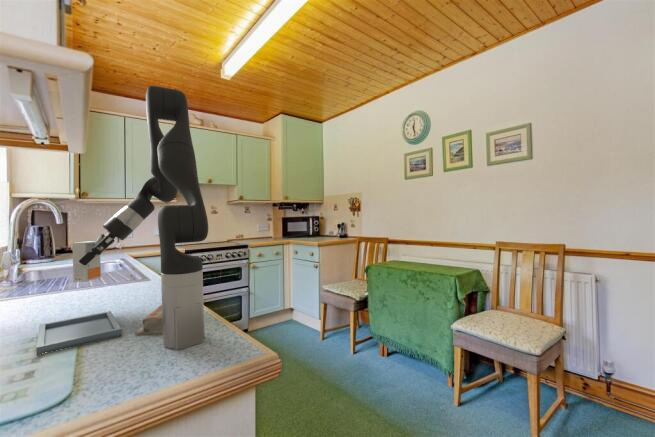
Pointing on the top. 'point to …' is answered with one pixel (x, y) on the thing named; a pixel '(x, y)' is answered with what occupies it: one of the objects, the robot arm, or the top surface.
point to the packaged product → (152, 323)
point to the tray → (76, 332)
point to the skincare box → (85, 271)
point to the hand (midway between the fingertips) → (80, 262)
